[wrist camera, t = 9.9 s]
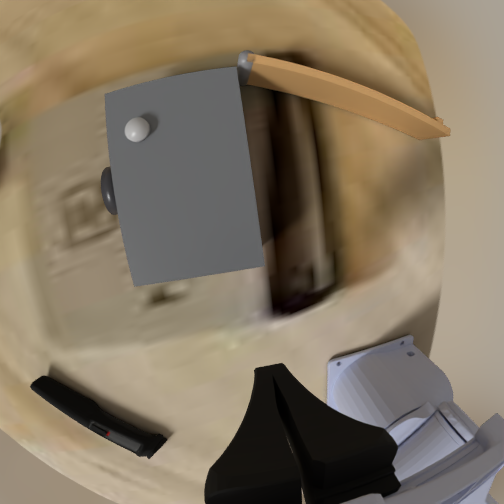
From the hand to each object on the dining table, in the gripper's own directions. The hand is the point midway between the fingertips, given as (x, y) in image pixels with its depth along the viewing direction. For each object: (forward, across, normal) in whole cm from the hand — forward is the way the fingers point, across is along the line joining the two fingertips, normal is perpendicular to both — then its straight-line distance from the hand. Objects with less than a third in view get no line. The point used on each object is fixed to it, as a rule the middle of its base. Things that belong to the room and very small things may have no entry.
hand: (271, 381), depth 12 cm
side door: (+9, -9, -14) cm, 19 cm away
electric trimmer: (+10, +18, +11) cm, 23 cm away
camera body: (+9, +3, -10) cm, 14 cm away
